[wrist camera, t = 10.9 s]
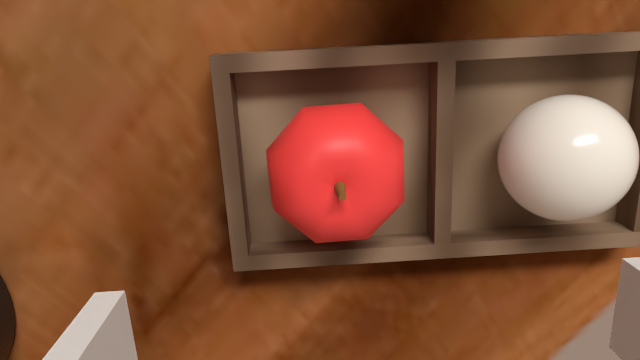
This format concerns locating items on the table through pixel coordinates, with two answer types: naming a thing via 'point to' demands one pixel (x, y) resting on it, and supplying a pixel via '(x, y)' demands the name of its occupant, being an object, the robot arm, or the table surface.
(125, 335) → the robot arm
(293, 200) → the apple
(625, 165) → the ceramic ball
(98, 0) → the table surface
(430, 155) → the walnut well tray
